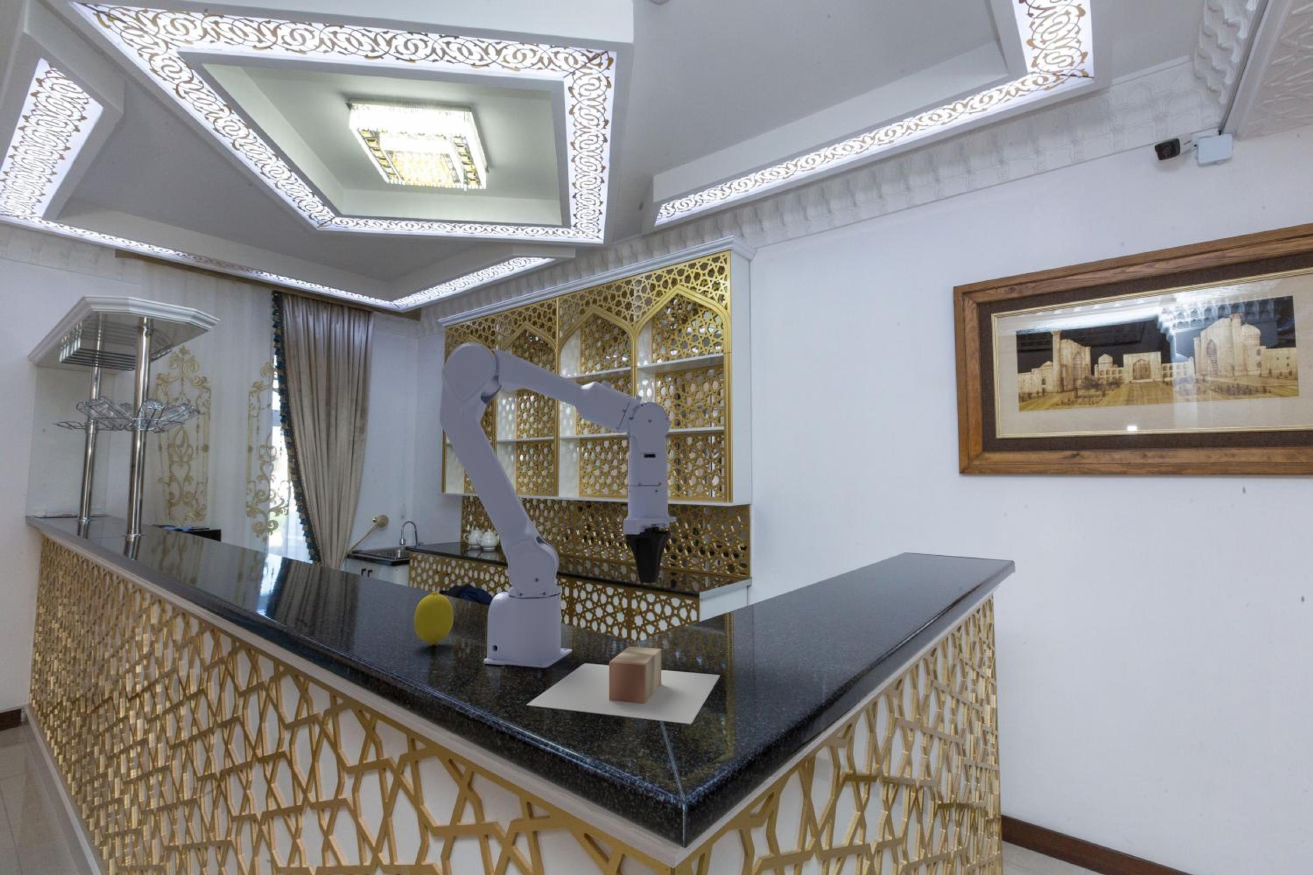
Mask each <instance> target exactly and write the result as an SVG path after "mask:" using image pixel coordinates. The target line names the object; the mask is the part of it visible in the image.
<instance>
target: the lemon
mask: <svg viewBox="0 0 1313 875" xmlns="http://www.w3.org/2000/svg"><path fill="white" fill-rule="evenodd" d="M453 624H454V609H453V605H452V603H451V601H450V599H449V598H447V597H446V596H444V595H442V594H440V593H439V592H437V591H432V592H431V593H430V594H428V595H426V596H425V597H423V598H422V599H421V600H420V601H419V603H418V604H417V606H416V608H415V612H414V617H413V628H414V632H415V634H416V636H417V637H418V638H419V639H420V640H422V641H423V642H426V643H427V644H428V645H430V644H436V643H437V644H438V643H439V642H441V641H442V640H444V639H445V638H447V636H448V635H449V634H450V632H451V630H452V628H453ZM437 644H436V645H437Z"/></svg>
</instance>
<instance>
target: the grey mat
mask: <svg viewBox="0 0 1313 875" xmlns="http://www.w3.org/2000/svg"><path fill="white" fill-rule="evenodd" d="M720 676H721V674H720V675H719V674H710V673H697V672H687V671H676V670H665V669H661V685H660V686H659V688H658V689H657V690H656V691H655V692H654V693H653V694H652V696H651V697H650V698H649V699H648V700H647V701H646V702H645V704H640V703H631V702H621V701H612V700H609V664H598V663H597V664H596V663H586V662H585V663H583V664H581V665H580V666H579V667H577V668H576V669H574V670H573V671H572V672H570V673H569V674H568V675H566V676H565V677H563V678H561V679H560V681H558V682H556V683H555V684H553V685H552V686H551V687H549V688H548V689H546V690H545V691H544V692H542V693H541V694H539V695H538V696H536V697H535V698H533V699H532V700H531V701H530V702H528V703H527V704H526V706H530V707H540V708H548V709H556V710H564V711H573V712H582V713H592V714H599V715H608V716H618V717H626V718H634V719H643V720H653V721H660V722H669V723H670V722H671V723H679V724H685V725H692V724H693V722H694V720H695V719H696V717H697V716H698V714H699V713H700V710H701V709H702V707H703V705H704V704H705V702H706V700H707V699H708V697H709V695H710V694H711V692H712V690H713V688H714V687H715V685H717V682H718V680H719V678H720Z"/></svg>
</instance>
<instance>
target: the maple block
mask: <svg viewBox="0 0 1313 875" xmlns="http://www.w3.org/2000/svg"><path fill="white" fill-rule="evenodd" d="M608 665H609V700H612V701H621V702H631V703H640V704H645V702H646V701H647V700H648V699H649V698H650V697H651V696H652V694H653V693H654V692H655V691H656V690H657V689H658V688H659V686H660V685H661V670H662V648H656V647H655V648H652V647H641V646H640V647H639V646H628V647H627V648H625V649H624V650H623V651H621V652H620V653H618V654H617V655H616V656H615V657H614V658H612V659H611V660H610V661H608Z"/></svg>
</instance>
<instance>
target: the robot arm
mask: <svg viewBox="0 0 1313 875" xmlns="http://www.w3.org/2000/svg"><path fill="white" fill-rule="evenodd" d="M492 351H493V352H492ZM440 373H441V381H442V388H441V397H440V398H441V399H440V409H439V410H440V411H439V423H440V426H441V427H442V430H443V431H444V433H445V435H446V437H447V440H448V441H449V443H450V445H451V447H452V448H453V451H454V452H455V454H456V456H457V459H458V460H459V462H460V464H461V466H462V468H463V470H464V472H465V474H466V476H467V478H468V479H469V482H470V484H471V485H472V488H473V489H474V491H475V493H476V495H477V497H478V499H479V501H480V502H481V504H482V506H483V508H484V510H485V512H486V513H487V516H488V517H489V520H490V521H491V523H492V526H493V527H494V529H495V531H496V534H497V535H498V537H499V538H498V539H499V542H500V546H501V550H502V553H503V554H504V556H505V558H506V563H507V575H508V576H507V577H508V581H509V583H510V585H511V586H510V587H509V588H508V589H507V591H503V592H502V591H501V592H499V593H497V594H496V595H494V596H493V598H492V599H491V602H490V605H489V608H488V612H487V637H486V638H487V640H486V641H487V642H486V646H487V647H486V649H487V650H486V651H487V652H486V658H483V664H488V665H500V666H504V665H511V666H520V667H531V668H541V669H542V668H543V669H544V668H545V669H546V668H549V667H551V666H552V665H554V664H555V663H557V662H558V661H560V660H561V659H564V658H565V657H566V656H568V655H569V654H571V653H572V652H573V649H571V648H561V646H562V645H561V644H562V643H561V642H562V641H561V640H562V639H561V636H562V635H561V634H562V631H561V630H562V629H561V628H562V625H561V622H562V588H561V586H559V585H558V584H557V583H556V582H555V579H556V578H557V572H558V570H559V567H560V557H559V554H558V552H557V550H556V549H555V548H554V546H553V545H551V544H550V543H548V542H547V541H546V540H545V539H543V537H542V536H541V534H540V532H539V530H538V528H537V527H536V526H535V524H534V523H533V520H531V519H530V516H529V515H528V513H527V511H526V509H525V507H524V505H523V503H522V501H521V499H520V497H519V496H518V494H517V492H516V490H515V488H514V486H513V484H512V482H511V480H510V478H509V476H508V474H507V473H506V470H505V469H504V467H503V465H502V463H501V460H500V459H499V457H498V455H497V454H496V451H495V449H494V448H493V446H492V443H491V442H490V440H489V438H488V436H487V434H486V432H485V430H484V429H483V427H482V425H481V421H482V418H483V417H484V414H485V412H486V409H487V407H488V404H489V403H490V402H492V400H494V398H495V397H496V396H497V395H498V394H499V392H500V391H501V390H502V389H503V390H504V392H505V393H510V392H514V391H517V390H521V389H525V390H528V391H532V392H535V393H537V394H540V395H542V396H546V397H548V398H551V399H553V400H556V401H560V402H562V403H566V404H568V405H570V406H573V407H574V408H575V409H576V413H577V414H578V416H579V418H580V419H582V420H585V421H587V422H590V423H592V424H595V425H597V426H599V427H603V428H604V429H608V430H610V431H612V432H615V433H617V434H622V433H625V434H626V435H627V437H628V438H629V447H628V448H629V452H628V456H627V517H626V518H625V519H623V524H622V525H623V527H622V528H623V530H622V531H623V535H625V540H626V542H627V543H628V545H629V547H630V550H631V552H632V554H633V557H634V561H635V565H636V570H637V574H638V578H639V582H640V583H644V584H655V583H657V581H658V579H659V573H660V569H661V563H662V558H663V555H664V552H665V548H666V546H667V543H668V541H669V539H670V537H671V533H672V532H671V530H660V529H661V528H670V523H675V522H677V517H676V516H670V514H669V500H668V498H669V497H668V496H669V493H668V491H669V490H668V489H669V488H668V485H669V484H668V483H669V482H668V453H667V445H668V444H667V438H666V436H667V434H668V433H669V431H670V429H671V425H672V422H671V420H670V418H669V415H668V413H667V410H665V409H664V407H663V406H662V405H660V404H659V403H656V402H653V401H646V402H645V401H644V402H642V400H643V396H641V395H638V394H635V395H634V396H633V395H630V394H628V393H625V392H623V391H620V390H618V389H616V388H613V387H612V383H611V382H609V381H607V380H603V381H602V383H600V382H598V381H592V382H589V383H586V384H583V385H582V384H580V383H577V382H575V381H573V380H570V379H569V378H566V377H564V376H562V375H559V374H558V373H555V372H553V371H550V370H548V369H546V368H544V367H541V366H539V365H537V364H535V363H533V362H531V361H529V360H526V359H524V358H522V357H518V356H516V355H514V354H511V353H509V352H506V351H504V350H501V349H498V348H492V350H490V349H489V348H488V347H486V345H483V344H481V343H478V342H465V343H462V344H460V345H458V346H457V347H455V348H454V349H453V350H452V351H451V352H450V354H449V356H448V358H447V360H446V362H445V363H444V365H443V368H442V369H441V372H440Z"/></svg>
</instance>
